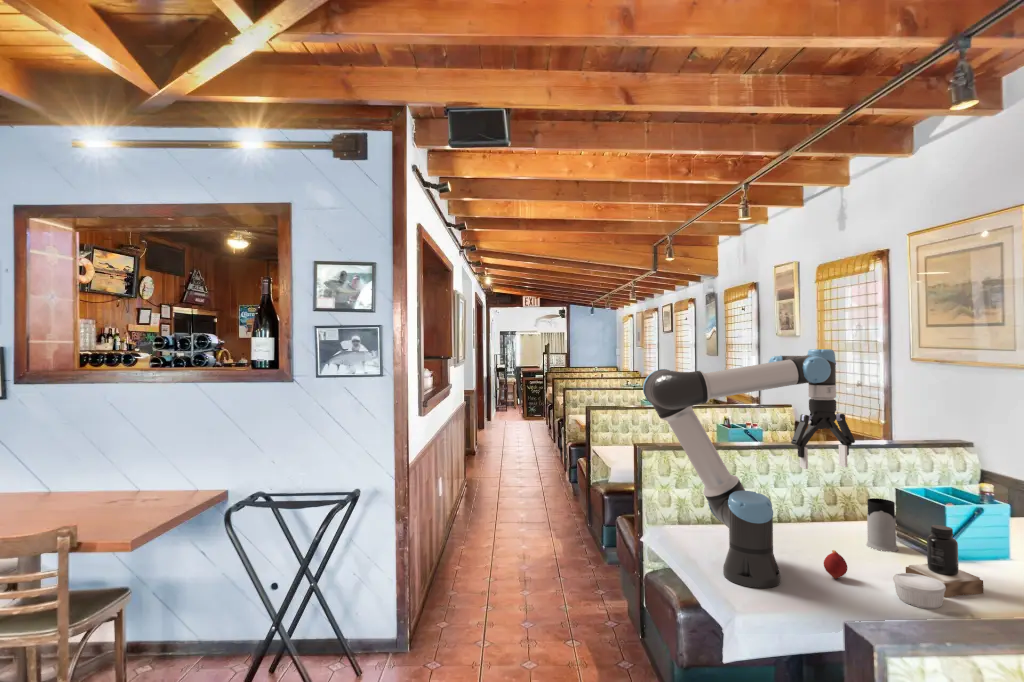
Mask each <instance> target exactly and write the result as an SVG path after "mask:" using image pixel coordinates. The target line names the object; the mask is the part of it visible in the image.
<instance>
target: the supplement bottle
mask: <svg viewBox="0 0 1024 682" xmlns="http://www.w3.org/2000/svg"><path fill="white" fill-rule="evenodd" d="M930 533H931V534H930V535H928V536H927V537H926V549H927V550H926V552H927V553H926V555H927V558H926V561H927V564H928V569H929V570H931V571H932V572H935V573H938V574H942V575H957V574H958V572H959V570H960V569H959V545H958V544H959V542H958V541H957V540H956V539H955V538H954V537H953V536H954V529H953V528H952V527H949V526H946V525H941V524H938V525H937V524H932V525H931V527H930Z"/></svg>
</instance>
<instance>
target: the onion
mask: <svg viewBox="0 0 1024 682" xmlns="http://www.w3.org/2000/svg"><path fill="white" fill-rule="evenodd" d="M831 551H832V552H831V553H829V554H828V555H826V557H825V558H824V560H823V567H824V569H825V571H826V572H827V573H828V574H829V575H830V576H831V578H833V579H834V580H836V579H840V578H842V577H843V576H845V574H847V572H848V565H847V562H846V560H845V558H844V557H843V556H842V555H841V554H839V553H838V552H837V551H836V550H835V549H832V550H831Z"/></svg>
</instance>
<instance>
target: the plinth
mask: <svg viewBox="0 0 1024 682" xmlns="http://www.w3.org/2000/svg"><path fill="white" fill-rule="evenodd" d="M905 573H911V574H918V575H923V576H927V577H931V578H934V579H936V580H938V581H940V582H942V583H943V584H944V585H945V586H946V591H945V592H944V598H949V597H960V596H969V595H970V596H972V595H982V594H984V580H982V579H981V577H979V576H976V575H973V574H971V573H970V572H966V571H964V570H961V569H959V572H958V574H957V575H942V574H938V573H935V572H932V571H931V570H929V569H928V563H922V564H921V563H919V564H910V565H908V566H906V567H905Z"/></svg>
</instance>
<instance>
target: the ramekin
mask: <svg viewBox="0 0 1024 682" xmlns="http://www.w3.org/2000/svg"><path fill="white" fill-rule="evenodd" d="M892 580H893V583H894V588H895V593H896V596H897V598H898V599H899V600H900V601H902V602H903V603H905V604H907V605H910V604H911V605H910V606H912V605H913V607H917V608H921V609H932V610H933V609H938V608H941V606H943V603H944V598H945V597H944V592H945V591H946V586H945V585H944V584H943V583H942V582H940V581H938V580H936V579H934V578H931V577H927V576H923V575H918V574H911V573H906V572H902V573H900V572H899V573H896V574H894V575H893V577H892Z"/></svg>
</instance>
